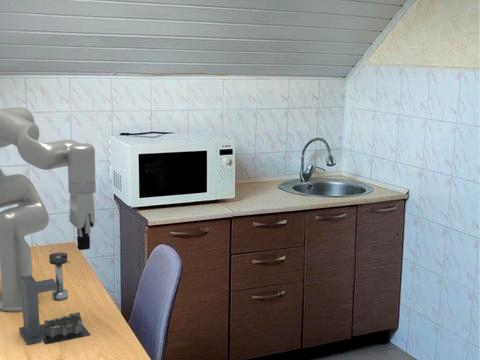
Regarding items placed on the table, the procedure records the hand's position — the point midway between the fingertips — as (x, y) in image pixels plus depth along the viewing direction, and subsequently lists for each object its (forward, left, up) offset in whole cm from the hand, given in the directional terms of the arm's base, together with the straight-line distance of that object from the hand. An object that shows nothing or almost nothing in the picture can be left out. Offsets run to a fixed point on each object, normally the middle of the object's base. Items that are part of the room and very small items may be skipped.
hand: (83, 248), depth 196 cm
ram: (0, -7, -14) cm, 16 cm away
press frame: (0, -10, -24) cm, 26 cm away
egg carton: (+1, -7, -24) cm, 25 cm away
